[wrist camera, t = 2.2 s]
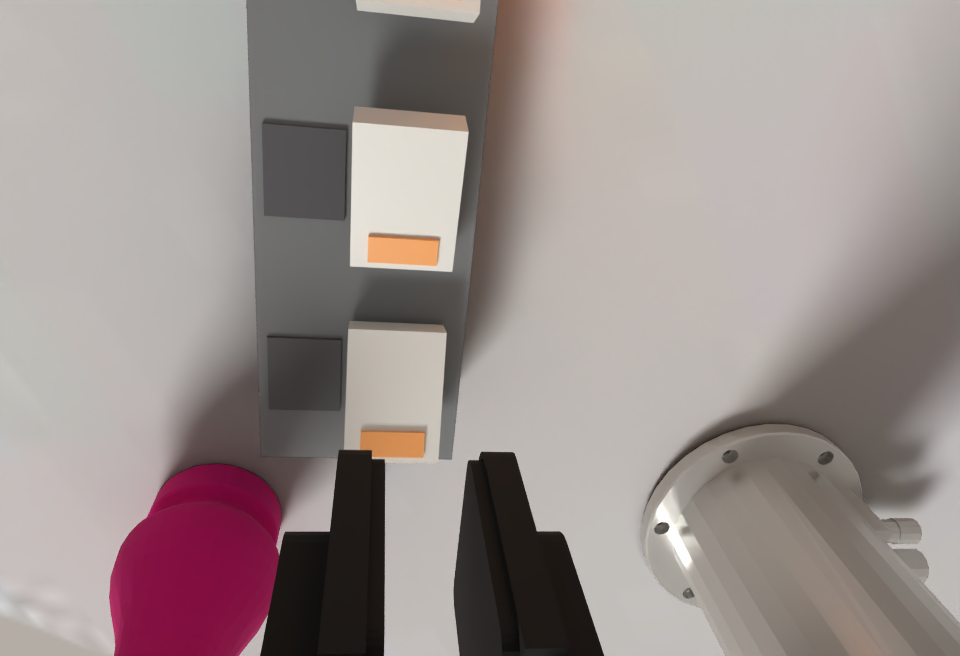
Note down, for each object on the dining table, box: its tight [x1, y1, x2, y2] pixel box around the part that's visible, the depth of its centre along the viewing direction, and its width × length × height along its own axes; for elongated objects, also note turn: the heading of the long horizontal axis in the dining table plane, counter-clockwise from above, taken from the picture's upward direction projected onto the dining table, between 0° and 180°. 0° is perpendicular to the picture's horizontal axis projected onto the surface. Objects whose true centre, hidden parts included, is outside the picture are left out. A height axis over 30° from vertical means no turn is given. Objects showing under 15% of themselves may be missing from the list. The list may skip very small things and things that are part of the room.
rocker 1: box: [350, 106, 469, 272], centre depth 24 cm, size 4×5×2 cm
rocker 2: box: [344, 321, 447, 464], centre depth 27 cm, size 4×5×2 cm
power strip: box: [247, 0, 498, 460], centre depth 28 cm, size 8×30×6 cm, turn 174°
